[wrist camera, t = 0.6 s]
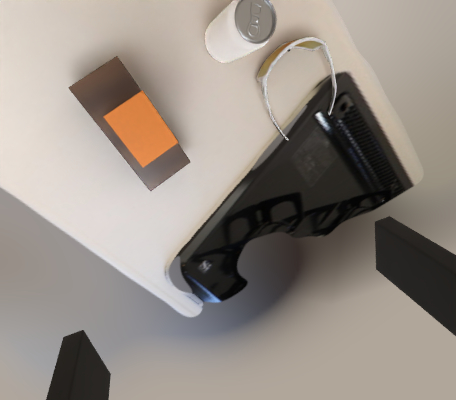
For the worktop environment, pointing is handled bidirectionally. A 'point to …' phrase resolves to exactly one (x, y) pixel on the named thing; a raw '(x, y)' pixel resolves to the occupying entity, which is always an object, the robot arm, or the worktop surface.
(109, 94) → the shelf
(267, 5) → the can
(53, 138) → the worktop surface
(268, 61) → the sunglasses
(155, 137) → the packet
